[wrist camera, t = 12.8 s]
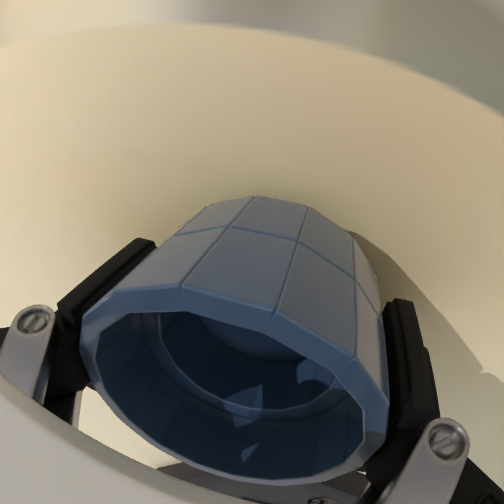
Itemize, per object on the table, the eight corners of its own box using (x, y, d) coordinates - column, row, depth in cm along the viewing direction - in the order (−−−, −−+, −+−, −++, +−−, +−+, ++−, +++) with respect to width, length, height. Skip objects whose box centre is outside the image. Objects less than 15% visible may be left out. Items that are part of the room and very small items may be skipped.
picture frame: (259, 516, 25) (400, 489, 17) (254, 532, 23) (399, 512, 15) (156, 468, 24) (275, 431, 15) (147, 486, 22) (266, 465, 13)
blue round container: (171, 173, 9) (47, 243, 5) (407, 221, 8) (460, 347, 4) (174, 340, 12) (113, 433, 8) (340, 384, 11) (325, 499, 7)
